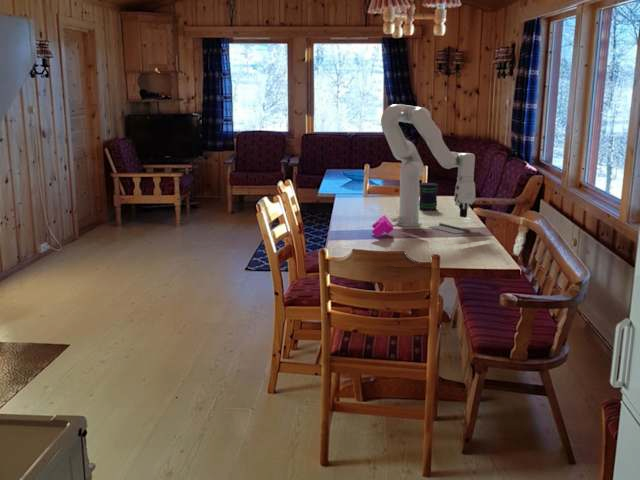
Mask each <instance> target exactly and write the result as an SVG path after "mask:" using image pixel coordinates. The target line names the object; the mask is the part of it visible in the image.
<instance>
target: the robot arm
mask: <svg viewBox="0 0 640 480" xmlns="http://www.w3.org/2000/svg"><path fill="white" fill-rule="evenodd" d="M399 122H401V123H408V124H412V125H413V127H415V130H417V132H418V133H419V134H420V136H421V137H422V138H423V141H424V142H425V143H426V145H427V147H428V149H429V150H430V152H431V153H432V155H433V157H434V158H435V159H436V161H437V162H438V164H439V165H440V166H441V167H442V168H444V169H448V170H450V169H452V168H457V177H456V180H457V181H456V184H455V187H454V189H455V190H454V195H453V196H454V197H453V198H454V202H455V203H454V205H455V206H457V207H458V208H459V217H460V218H467V216H468V210H469V207H470V206H471V205H473V203H474V202H475V201H476V183H475V181H474V179H475V178H474V177H475V162H476V155H475V154H474V153H471V152H457V151H451V150H450V149H449V148H448V146H447V144H446V143H445V141H444V139H443V134H442V131H441V129H440V128H439V127H438V125H437V124H436V123H435V122H434V121H433V118H432V114H431V112H430V110H429V109H428V108H425V107H421V106H414V105H408V104H407V105H406V104H402V103H399V104H397V103H395V104H391V105H389V106H387V108H385V110H384V111H383V113H382V115H381V118H380V126H381V129H382V132H383V134H384V136H385V139H386V141H387V143H388V146H389V148H390V150H391V153H392V155H393V157H394V158H395V159H396V160H398V161H401V164H402V165H400V169H399V210H398V212H399V214H398V215H397V217H392V218H390V219H391V223H395V224H396V225H397V226H398V225H399V226H403V227H416V226H421V225H422V222H421V221H420V220H419V212H420V211H419V210H420V209H419V200H420V177H422V176H423V174H424V171H425V166H424V163H423V161H422V159H421V158H422V157H421V156H420V154H419V151H418V149H417V147H416V145H415V144H414V143H413V142H412V141H410V140H408V139H406V137H405V135H404V132H403V130H402V128H401V127H400V125H399Z"/></svg>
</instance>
